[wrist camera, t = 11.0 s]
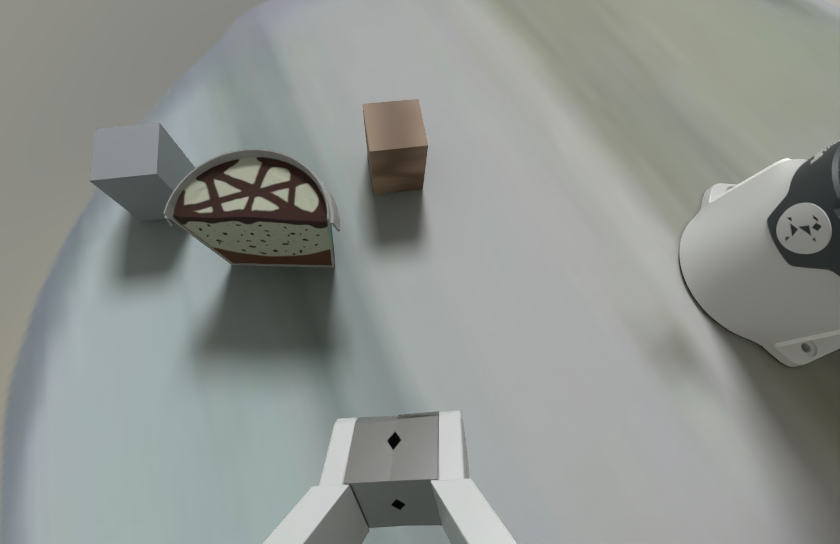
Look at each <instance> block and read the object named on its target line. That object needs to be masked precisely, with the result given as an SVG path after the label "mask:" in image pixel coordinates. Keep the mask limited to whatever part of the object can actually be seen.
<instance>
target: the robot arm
mask: <svg viewBox="0 0 840 544" xmlns="http://www.w3.org/2000/svg"><path fill="white" fill-rule="evenodd" d="M679 255H680V264H681V269H682V273H683V276H684V279H685V281H686V283H687V286H688V287H689V289H690V291H691V293H692V294H693V296H694V298H695V299H696V300H697V302H698V303H699V304H700V306H701V307H702V308H703V309H704V310H705V311H706V312H707V313H708V314H709V315H710V316H711V317H712V318H713V319H714V320H716V321H717V322H718V323H719V324H721V325H722V326H724V327H725V328H727V329H728V330H730V331H732V332H733V333H735V334H737V335H739V336H742V337H744V338H747V339H749V340H751V341H753V342H756V343H757V344H759V345H761V346H762V347H763V348H765V349H766V350H767V351H768V352H769V353H770V354H771V355H773V356H774V357H775V358H776V359H777V360H779V361H780V362H781V363H783V364H785V365H787V366H789V367H797V366H800V365H804V364H807V363H809V362H812V361H814V360H816V359H818V358H820V357H823V356H825V355H827V354H829V353H831V352H833V351H836V350H838V349H840V140H838V141H836V142H834V143H832V144H831V145H829V146H827V147H826V148H824V149H822V150H821V151H820V152H819V153H818V154H816V155H815V156H814V157H812V158H810V159H809V160H804V159H794V160H791V159H789V158H786V159H782V160H780V161H778V162H776V163H774V164H772V165H771V166H769V167H767V168H765V169H764V170H762V171H760V172H758V173H757V174H755V175H753V176H752V177H750V178H748V179H746V180H745V181H743V182H741V183H740V184H738V185H736V184H716V185H714V186H712V187H710V188H708V189H707V190H706V192H705V193H704V196H703V200H702V205H701V209H700V211H699V212H698V214H697V215H696V216H695V217H694V218H693V219H692V220H691V221H690V223H689V224H688V225H687V227H686V229H685V231H684V233H683V235H682V238H681V242H680V252H679ZM802 348H803V350H802ZM413 525H442V527H443V529H444V531H445V533H446V535H447V536H448V538H449V540H450V542H451V544H517V543H516V542H515V540H514V539H513V537H512V536H511V535H510V533H509V532H508V530H507V529H506V527H505V526H504V525H503V523H502V522H501V520H500V519H499V518H498V516H497V515H496V513H495V512H494V510H493V509H492V508H491V506H490V505H489V503H488V502H487V500H486V499H485V498H484V496H483V495H482V493H481V492H480V490H479V489H478V488H477V486H476V485H475V483H474V482H473V481H472V479H469V465H468V456H467V447H466V439H465V432H464V425H463V419H462V413H461V410H459V411H447V412H439V411H438V412H427V413H415V414H403V415H398V416H380V417H357V418H341V419H337V421H336V423H335V424H334V427H333V431H332V435H331V439H330V443H329V447H328V451H327V455H326V459H325V462H324V466H323V470H322V474H321V478H320V482H319V486H312V487H311V488H310V490H309V491H308V492H307V493H306V494H305V495H304V497H303V498H302V499H301V500H300V501H299V502H298V503H297V505H296V506H295V507H294V508H293V509H292V510H291V512H290V513H289V514H288V515H287V516H286V517H285V518H284V520H283V521H282V522H281V523H280V524H279V525H278V527H277V528H276V529H275V530H274V531H273V532H272V533H271V535H270V536H269V537H268V538H267V539H266V540H265V542H264V543H263V544H362V542H363V541H364V539H365V537H366V536H367V534H368V532H369V531H370V530H369V528H376V527H391V526H413Z"/></svg>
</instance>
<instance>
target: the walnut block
mask: <svg viewBox="0 0 840 544" xmlns="http://www.w3.org/2000/svg"><path fill="white" fill-rule="evenodd" d="M363 114H364V123H365V133H366V142H367V152H368V159H369V166H370V172H371V179H372V186H373V193H374V194H381V193H390V192H398V191H407V190H415V189H423V182H424V174H425V166H426V157H427V149H428V143H427V138H426V134H425V129H424V124H423V119H422V114H421V110H420V105H419V100H418V99H414V100H403V101H392V102H381V103H370V104H363Z"/></svg>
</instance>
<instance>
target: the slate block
mask: <svg viewBox="0 0 840 544" xmlns="http://www.w3.org/2000/svg"><path fill="white" fill-rule="evenodd" d="M194 169H195V167H194V166H193V164H192V163H191V162H190V161H189V159H188V158H187V157H186V156H185V154H184V153H183V152H182V151H181V149H180V148H179V147H178V145H177V144H176V143H175V142H174V140H173V139H172V138H171V137H170V135H169V134H168V133H167V132H166V130H165V129H164V128H163V127H162V125H161V124H160V123H152V124H141V125H131V126H119V127H107V128H96V129H95V136H94V145H93V153H92V162H91V170H90V178H89V181H90V182H92V183H93V184H94V185H95V186H97V187H98V188H99V189H101V190H102V191H103V192H104V193H106V194H107V195H108V196H110V197H111V198H112V199H113V200H115V201H116V202H117V203H119V204H120V205H121V206H122V207H124V208H125V209H126V210H127V211H129V212H130V213H131V214H133V215H134V216H135V217H136V218H138V219H139V220H140V221H149V220H158V219H165V218H164V217H165V214H164V210H165V207H166V204H167V202H168V200H169V198H170V196H171V194H172V192H173V191H174V190H175V188H176V187H177V186H178V184H179V183H180V182H181V181H182V180H183V179H184V178H185V177H186V176H187V175H188V174H189V173H190V172H191V171H193V170H194Z"/></svg>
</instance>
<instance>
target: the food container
mask: <svg viewBox="0 0 840 544" xmlns="http://www.w3.org/2000/svg"><path fill="white" fill-rule="evenodd" d="M164 214H165V217H164V218H165V219H166V220H167V222H168V223H169V225H170V226H173V225H174V222H175V223H176V224H177V225H179V226H180V227H181V228H183V229H184V230H185V231H187V232H188V233H189V234H191V235H192V236H193V237H195V238H196V239H198V240H199V241H200V242H202V243H203V244H204V245H206V246H207V247H208V248H210V249H211V250H212V251H214V252H215V253H216V254H218V255H219V256H221V257H222V258H223V259H225V260H226V261H227V262H229V263H230V264H231V265H246V266H287V267H327V268H335V258H334V246H333V236H332V226H331V224H333V226H334V227H335V228H336V230H337V231H340V219H339V214H338V209H337V206H336V203H335V201H334V198H333V197H332V195H331V193H330V192H329V190H328V188H327V187H326V186H325V184H324V183H323V182H322V181H321V179H320V178H319V177H318V176H317V175H316V174H315V173H314V172H313V171H312V170H311V169H310V168H308V167H307V166H306V165H304V164H303V163H301V162H299V161H298V160H296V159H294V158H292V157H290V156H288V155H285V154H283V153H280V152H275V151H271V150H264V149H244V150H237V151H232V152H228V153H225V154H221V155H219V156H217V157H214V158H212V159H210V160H208V161H206V162H204V163H203V164H201V165H199V166H198V167H196V168H195V169H194V170H193V171H191V172H190V173H189V174H188V175H187V176H186V177H185V178H184V179H183V180H182V181H181V182H180V183H179V184H178V186H177V187H176V188H175V190H174V191H173V192H172V194H171V196H170V198H169V200H168V202H167V204H166V207H165V210H164Z"/></svg>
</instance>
